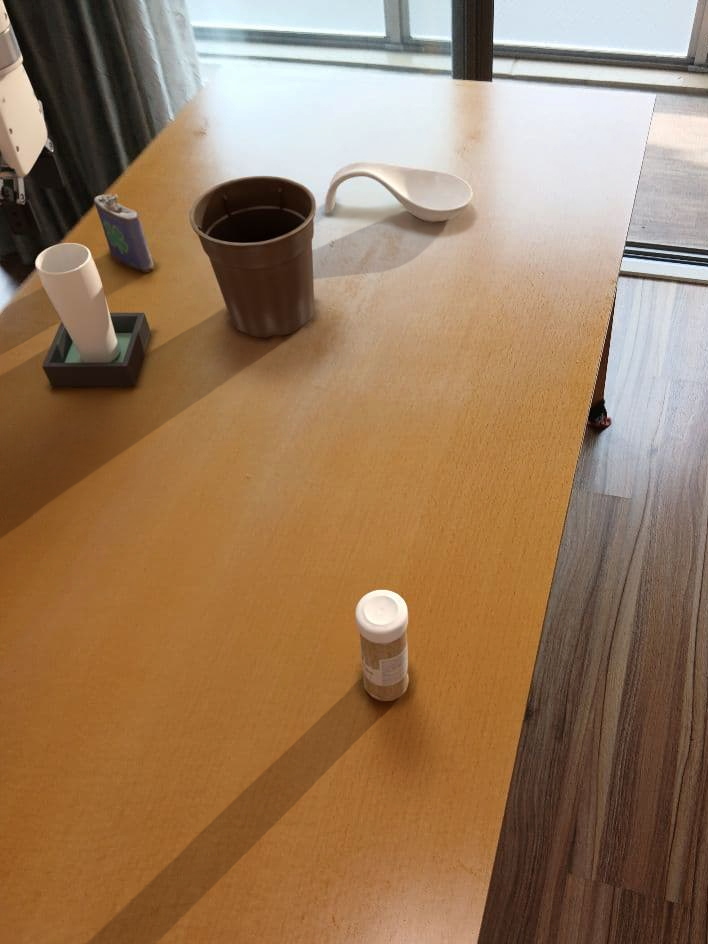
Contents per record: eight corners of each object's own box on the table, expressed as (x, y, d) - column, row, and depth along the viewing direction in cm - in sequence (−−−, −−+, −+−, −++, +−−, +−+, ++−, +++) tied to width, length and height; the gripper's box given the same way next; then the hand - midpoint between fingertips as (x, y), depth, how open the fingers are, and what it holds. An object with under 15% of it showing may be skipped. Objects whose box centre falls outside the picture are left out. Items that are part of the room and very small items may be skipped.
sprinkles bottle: (357, 671, 82) (347, 597, 71) (399, 655, 83) (395, 580, 72) (373, 710, 79) (366, 639, 68) (416, 693, 80) (416, 621, 69)
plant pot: (192, 330, 115) (162, 225, 102) (252, 268, 123) (233, 164, 111) (291, 361, 110) (274, 256, 97) (347, 294, 119) (338, 190, 106)
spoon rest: (473, 194, 135) (475, 151, 129) (470, 234, 128) (472, 190, 122) (332, 189, 137) (328, 147, 131) (321, 228, 130) (316, 185, 124)
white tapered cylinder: (123, 370, 109) (86, 272, 97) (71, 373, 109) (28, 276, 97) (129, 337, 113) (95, 240, 101) (80, 340, 113) (39, 243, 101)
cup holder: (51, 387, 108) (41, 366, 105) (73, 333, 115) (64, 313, 112) (134, 386, 108) (127, 366, 105) (151, 332, 115) (144, 312, 112)
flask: (158, 267, 124) (138, 201, 115) (142, 276, 123) (121, 210, 114) (120, 245, 128) (98, 180, 119) (105, 254, 126) (81, 188, 118)
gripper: (-31, 13, 85) (29, 171, 99) (-94, 88, 75) (-17, 253, 89) (40, 13, 85) (90, 171, 99) (-13, 88, 75) (52, 253, 88)
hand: (40, 210), depth 94 cm, fingers open, 9 cm apart
